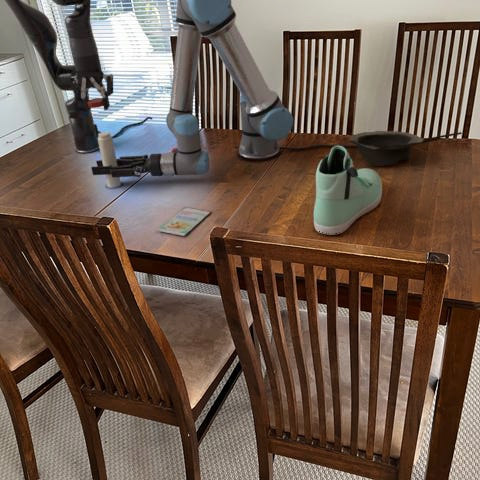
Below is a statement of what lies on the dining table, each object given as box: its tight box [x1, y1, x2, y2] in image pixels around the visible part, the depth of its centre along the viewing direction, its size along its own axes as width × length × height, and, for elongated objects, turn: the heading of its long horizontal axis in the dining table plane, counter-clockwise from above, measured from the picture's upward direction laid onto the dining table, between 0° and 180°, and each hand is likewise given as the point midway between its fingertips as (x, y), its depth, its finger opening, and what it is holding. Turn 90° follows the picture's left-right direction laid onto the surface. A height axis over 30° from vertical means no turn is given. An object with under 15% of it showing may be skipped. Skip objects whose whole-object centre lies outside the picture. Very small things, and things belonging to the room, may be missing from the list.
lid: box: [87, 97, 104, 109], centre depth 150 cm, size 5×5×2 cm
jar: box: [98, 131, 122, 189], centre depth 160 cm, size 5×5×18 cm
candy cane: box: [170, 146, 179, 153], centre depth 183 cm, size 6×15×2 cm, turn 145°
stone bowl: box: [348, 130, 426, 167], centre depth 167 cm, size 25×25×9 cm
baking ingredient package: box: [157, 207, 211, 237], centre depth 139 cm, size 9×1×15 cm
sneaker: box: [313, 146, 383, 236], centre depth 133 cm, size 14×35×20 cm, turn 152°
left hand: (97, 109), depth 151 cm, fingers closed on lid, 5 cm apart
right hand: (95, 167), depth 162 cm, fingers closed on jar, 5 cm apart
